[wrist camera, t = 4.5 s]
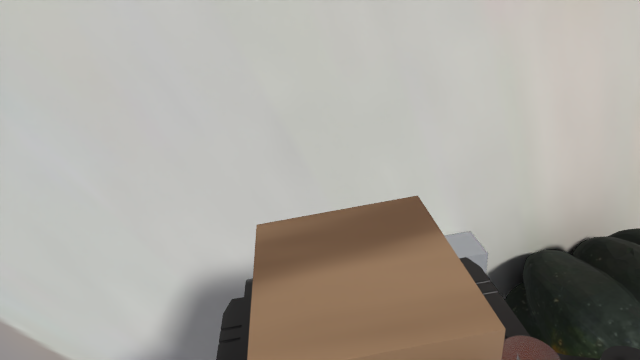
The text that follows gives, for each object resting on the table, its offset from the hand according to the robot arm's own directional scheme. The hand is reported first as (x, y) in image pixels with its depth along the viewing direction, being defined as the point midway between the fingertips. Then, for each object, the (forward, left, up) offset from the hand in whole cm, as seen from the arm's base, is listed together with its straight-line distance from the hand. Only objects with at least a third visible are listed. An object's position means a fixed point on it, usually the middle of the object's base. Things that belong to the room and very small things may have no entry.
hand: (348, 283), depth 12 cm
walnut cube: (0, 0, -1) cm, 1 cm away
